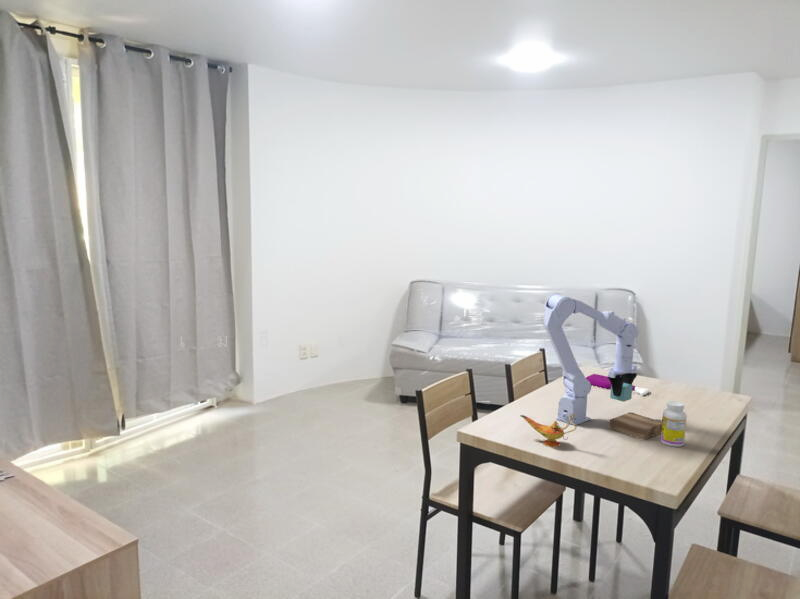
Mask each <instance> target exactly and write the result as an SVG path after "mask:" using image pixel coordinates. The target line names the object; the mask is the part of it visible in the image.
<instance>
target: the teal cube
mask: <svg viewBox="0 0 800 599" xmlns="http://www.w3.org/2000/svg"><path fill="white" fill-rule="evenodd" d="M632 385H633V384H632ZM632 385H631V384H627V383H623V386H622V390H621V395H620V397H618V396H614V395H613V390H612V385H611V389H610V394H609V395H610V399H613V400H616V401H620V402H623V403H624V402H626V401H630V400H631V399H632V396H633V395H632V394H633V392H632Z"/></svg>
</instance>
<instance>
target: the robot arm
mask: <svg viewBox="0 0 800 599" xmlns="http://www.w3.org/2000/svg"><path fill="white" fill-rule="evenodd" d="M544 308H545V313H544V319H543V320H544V321H543V325H544V329H545V330H546V333H547V335H548V338H549V340H550V343H551V345H552V348H553V350H554V352H555V354H556V356H557V359H558V361H559V364H560V367H561V370H562V371H561V374H562V384H563V385H564V387H565V392H564V396H563V397H561V398H560V399H559V401H558V409H557V410H558V411H557V412H558V413H557V416H555V419H556V420H558V421H562V422H564V423H567V424H568V422H569V419H570V417H571V415H572V414H574V416H572V418H574V419H572V420H573V421H574V422H575V424H576V426H577V425H579V424H583V423H586V422H588V421H591V420H592V417H589V416H587V406H588V395H589V394H590V393H591V391H592V385H591V383H590V382H589V381H588V380H587V379H586V376H585V375H584V373H583V371H582V370H581V369H580V367H579V366H578V362H577V361H576V358H575V355H574V352H573V351H572V348H571V345H570V344H569V342H568V341H569V340H568V339H567V336H566V334H565V331H564V328H563V327H562V326H563V325H564V323H565V322H566V320H567V319H568V318H569V317H570V316H572V314H582V315H585V316H586V317H589V318H591V319H593V320H595V321H596V322H597V325H598V327H601V328H602V329H604V330H606V331H608V332H610V333H612V334H614V335H615V336H616V337H615V351H614V352H615V354H614V365H613V368H612V369H610V370H609V371H608V375H607V377H608V378H609V380H610V382H611V385H612V390H613V395H614V396H618V397H620V395H621V390H622V386H623V383H627V384H631V385H633V382H634V381H635V379H636V378H637V376H638V373H636V372H637V368H638V367H637V365H634V364H633V361H634V359H633V358H634V349H635V340H636V338H637V337H638V335H639V333H640V332H639V331H638V327H637V326H636V325H635V323H632V322H630V321H627V320H626V318H625V317H620V316H617V315H615V312H614V311H612V310H609V311H608V310H605V311H604V310H603V311H600V310H598V309H597V308H594V307H592V306H590V305H589V304H587V303H585V302H583V301H581V300H579V299H577V298H572V297H570V296H567V295H562V294H560V293H552V294H550V295H549V296H548V298H547V299H546V301H545V303H544ZM569 415H570V416H569ZM570 420H571V419H570ZM572 420H571V421H570V422H569V425H572V426H575V424H574V423H573V421H572Z"/></svg>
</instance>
